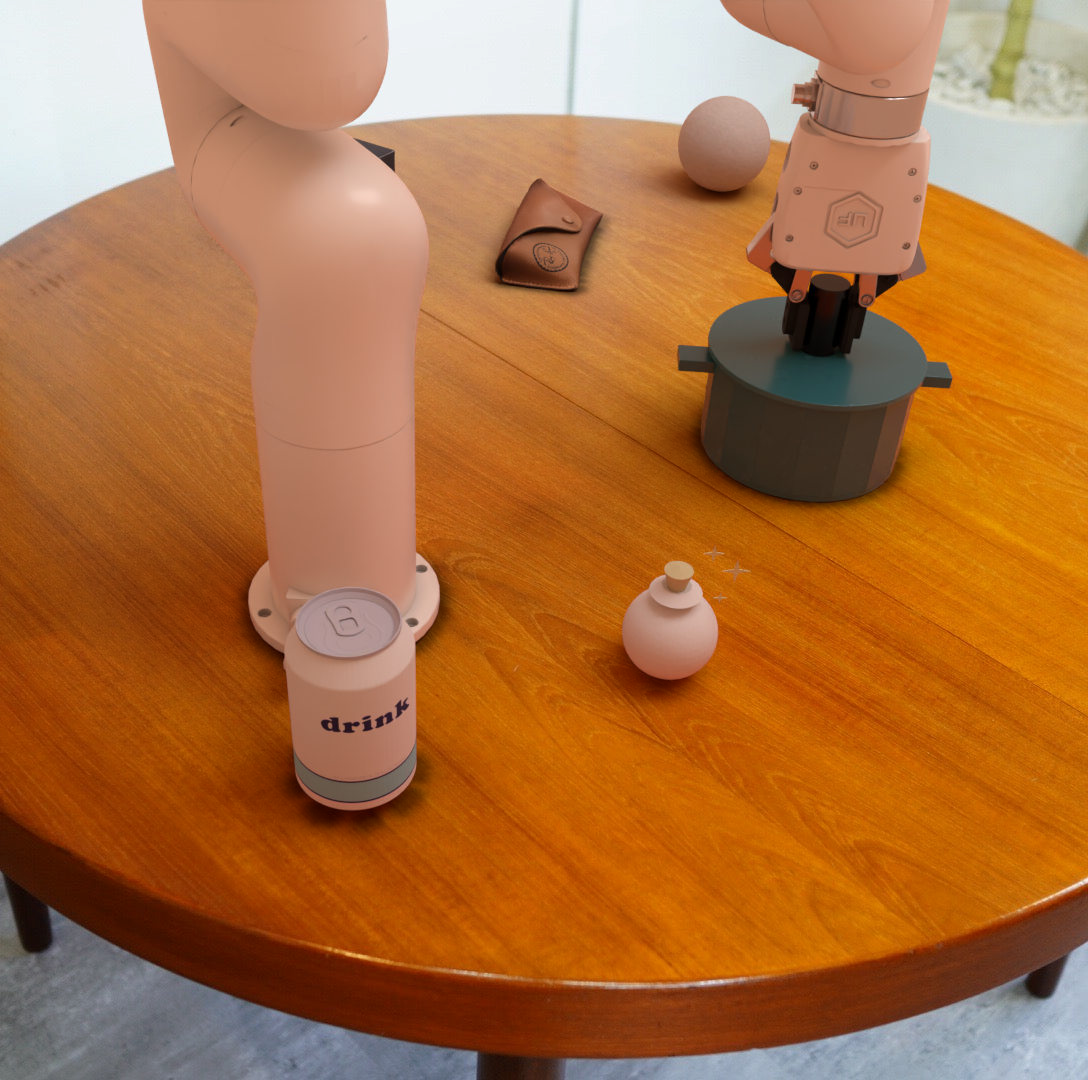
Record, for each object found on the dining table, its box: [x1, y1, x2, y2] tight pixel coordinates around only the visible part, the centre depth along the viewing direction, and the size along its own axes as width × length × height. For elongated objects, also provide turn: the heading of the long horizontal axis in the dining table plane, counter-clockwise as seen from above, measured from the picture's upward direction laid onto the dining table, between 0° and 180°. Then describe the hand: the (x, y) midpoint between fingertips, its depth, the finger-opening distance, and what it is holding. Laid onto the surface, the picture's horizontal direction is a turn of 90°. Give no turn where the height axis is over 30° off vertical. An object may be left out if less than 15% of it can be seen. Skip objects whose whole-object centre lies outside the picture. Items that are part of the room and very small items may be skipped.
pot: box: [676, 344, 954, 503], centre depth 104 cm, size 16×21×8 cm
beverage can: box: [283, 587, 417, 811], centre depth 73 cm, size 7×7×12 cm
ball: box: [677, 95, 771, 193], centre depth 144 cm, size 10×10×10 cm
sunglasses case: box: [494, 178, 604, 291], centre depth 131 cm, size 18×7×7 cm
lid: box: [707, 272, 928, 412], centre depth 100 cm, size 17×17×7 cm
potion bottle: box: [621, 544, 751, 681], centre depth 82 cm, size 6×7×10 cm
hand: (818, 341), depth 101 cm, fingers closed on lid, 3 cm apart
